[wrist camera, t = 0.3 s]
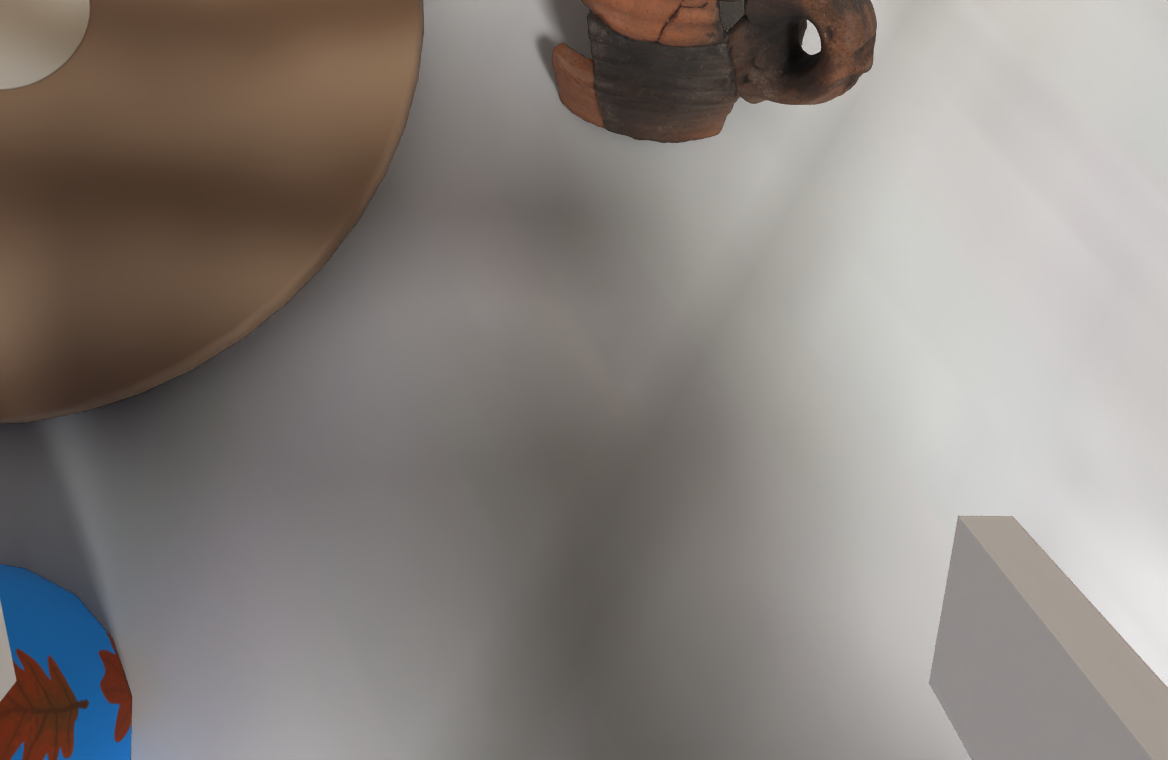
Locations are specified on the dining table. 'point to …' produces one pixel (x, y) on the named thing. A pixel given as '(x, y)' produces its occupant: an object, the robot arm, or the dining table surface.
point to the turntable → (179, 176)
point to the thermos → (60, 677)
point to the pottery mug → (708, 62)
